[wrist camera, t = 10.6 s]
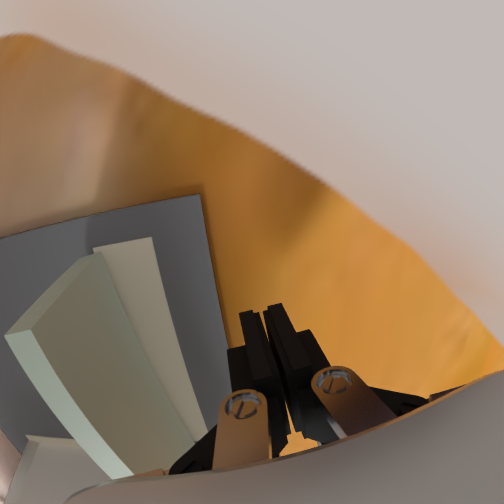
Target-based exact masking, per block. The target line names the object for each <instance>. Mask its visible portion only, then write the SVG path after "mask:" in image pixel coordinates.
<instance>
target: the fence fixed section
mask: <svg viewBox="0 0 504 504" xmlns="http://www.w3.org/2000/svg"><path fill="white" fill-rule="evenodd" d="M110 480H112V479H111V478H110V477H109V476H108V475H107V474H106V473H105V472H104V471H103V470H102V469H101V468H100V467H99V466H98V465H97V464H96V462H95V461H94V460H93V459H92V458H91V457H90V456H89V455H88V454H87V453H86V452H85V451H84V449H83V448H82V447H69V446H58V445H48V444H39V443H38V442H35V441H32V440H28V442H27V445H26V447H25V449H24V452H23V454H22V457H21V459H20V461H19V464H18V466H17V469H16V472H15V474H14V477H13V479H12V482H11V485H10V487H9V490H8V493H7V496H6V499H5V502H4V504H63V503H64V502H65V500H66V499H67V498H68V497H70V496H71V495H72V494H74V493H76V492H78V491H80V490H82V489H84V488H87V487H90V486H93V485H96V484H100V483H105V482H107V481H110Z"/></svg>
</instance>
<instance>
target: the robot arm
mask: <svg viewBox="0 0 504 504" xmlns="http://www.w3.org/2000/svg"><path fill="white" fill-rule="evenodd" d="M267 307H268V310H265V311H263V314H264V319H265V324H266V329H267V334H268V338H267V335H266V332H265V329H264V326H263V323H262V320H261V317H260V314H259V312H257V313H253V310H249V311H245V312H241V313H239V317H240V321H241V326H242V331H243V335H244V340H245V344H246V345H244V346H240V347H235V348H231V349H227V358H228V366H229V374H230V381H231V389H232V393H231V394H229V395H228V396H227V397H225V398H224V400H223V401H222V402H221V405H220V408H219V416H218V423H217V424H216V425H215V426H214V427H213V428H212V429H211V430H210V431H209V432H208V433H207V434H206V435H204V436H203V437H202V438H201V439H200V440H199V441H198V442H197V443H196V444H195V445H194V446H193V447H191V448H190V449H189V450H188V451H187V452H186V453H185V454H184V455H183V456H181V457H180V458H179V459H178V460H177V461H176V462H175V463H174V464H173V465H172V466H171V468H170V469H169V470H165V471H163V469H162V468H160V469H157V470H153V471H149V472H145V473H141V474H136V475H132V476H127V477H123V478H118V479H113V480H110V481H107V482H105V483H100V484H96V485H93V486H90V487H87V488H84V489H82V490H80V491H78V492H76V493H74V494H72V495H71V496H70V497H68V498H67V499H66V500H65V502H64V503H63V504H504V370H501V371H497V372H494V373H491V374H488V375H485V376H483V377H481V378H479V379H476V380H474V381H472V382H470V383H468V384H465V385H462V386H459V387H456V388H452V389H449V390H446V391H442V392H439V393H435V394H431V395H430V396H429V398H428V399H425V398H423V397H420V396H416V395H410V394H404V393H399V392H394V391H389V390H383V389H379V388H374V387H369V386H367V385H366V384H365V383H364V381H363V380H362V379H361V378H360V377H359V376H358V375H357V374H356V373H355V372H354V371H352V370H351V369H349V368H346V367H343V366H331V365H330V364H329V362H328V360H327V358H326V357H325V355H324V353H323V351H322V350H321V348H320V346H319V344H318V342H317V341H316V339H315V337H314V336H313V334H312V332H311V331H310V330H309V329H308V330H304V331H300V332H297V333H296V331H295V329H294V327H293V325H292V323H291V321H290V319H289V317H288V315H287V313H286V311H285V309H284V307H283V305H282V303H278V304H274V305H270V306H267ZM268 339H269V341H268ZM285 402H286V404H285ZM286 405H287V408H288V411H289V414H290V417H291V420H292V423H293V426H294V429H295V431H296V432H300V431H302V434H303V437H304V439H306V438H309V439H312V440H315V441H317V444H318V447H314V448H311V449H307V450H304V451H300V452H297V453H293V454H289V455H285V456H281V455H280V452H281V451H282V450H283V448H284V447H285V446H286V445H287V443H288V440H287V435H289V434H291V430H290V424H289V419H288V414H287V409H286Z"/></svg>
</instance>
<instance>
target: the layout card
mask: <svg viewBox="0 0 504 504" xmlns="http://www.w3.org/2000/svg"><path fill="white" fill-rule="evenodd" d="M97 252H101V254H102V256H103V259H104V262H105V264H106V267H107V270H108V272H109V275H110V277H111V280H112V282H113V285H114V287H115V290H116V292H117V295H118V297H119V299H120V302H121V304H122V306H123V309H124V311H125V313H126V315H127V318H128V320H129V322H130V324H131V327H132V329H133V331H134V333H135V335H136V337H137V339H138V342H139V344H140V346H141V348H142V350H143V352H144V354H145V356H146V358H147V360H148V362H149V364H150V366H151V368H152V370H153V372H154V373H155V375H156V377H157V379H158V381H159V383H160V385H161V387H162V388H163V390H164V392H165V394H166V396H167V397H168V399H169V401H170V403H171V405H172V406H173V408H174V410H175V411H176V413H177V415H178V417H179V418H180V420H181V422H182V423H183V425H184V427H185V428H186V430H187V432H188V433H189V435H190V436H191V438H192V440H193V441H194V443H195V444H196V443H197V442H198V441H199V440H200V439H201V438H202V437H203V436H204V435H206V434H207V433H208V432H209V431H210V430H211V429H212V428H213V427H214V426H215V425H216V424H217V423H218V416H219V408H220V405H221V402H222V401H223V400H224V398H225V397H227V396H228V395H229V394H231V393H232V389H231V381H230V374H229V366H228V358H227V349H229V348H228V343H227V339H226V334H225V329H224V324H223V319H222V314H221V309H220V304H219V299H218V294H217V288H216V283H215V278H214V272H213V267H212V261H211V256H210V250H209V245H208V239H207V233H206V227H205V222H204V216H203V210H202V204H201V197H200V193H199V194H193V195H188V196H182V197H177V198H171V199H166V200H160V201H155V202H150V203H145V204H140V205H135V206H130V207H125V208H121V209H116V210H111V211H107V212H102V213H98V214H93V215H89V216H84V217H80V218H76V219H72V220H68V221H64V222H59V223H55V224H51V225H48V226H44V227H40V228H36V229H32V230H29V231H25V232H21V233H18V234H14V235H10V236H7V237H3V238H0V428H1V430H2V431H3V432H4V434H5V435H6V436H7V438H8V439H9V440H10V441H11V443H12V444H13V445H14V446H15V447H16V449H17V450H18V451H19V452H20V453H21V455H22V454H23V452H24V449H25V447H26V445H27V442H28V440H32V441H35V442H38V443H39V444H48V445H58V446H69V447H81V446H80V445H79V444H78V443H77V441H76V440H75V439H74V438H73V437H72V435H71V434H70V433H69V432H68V431H67V429H66V428H65V427H64V426H63V424H62V423H61V422H60V421H59V419H58V418H57V417H56V416H55V414H54V413H53V412H52V410H51V409H50V408H49V406H48V405H47V403H46V402H45V401H44V399H43V398H42V396H41V395H40V394H39V392H38V391H37V389H36V388H35V386H34V385H33V383H32V382H31V380H30V379H29V377H28V376H27V374H26V373H25V371H24V369H23V368H22V366H21V365H20V363H19V361H18V360H17V358H16V356H15V355H14V353H13V351H12V349H11V348H10V346H9V344H8V342H7V340H6V339H5V337H4V335H5V334H6V333H7V332H8V331H9V329H10V328H11V327H12V326H13V325H14V324H15V323H16V322H17V321H18V319H19V318H20V317H21V316H22V315H23V314H24V313H25V312H26V311H27V310H28V309H29V308H30V307H31V306H32V305H33V304H34V302H35V301H36V300H37V299H38V298H39V297H40V296H41V295H42V294H43V293H44V292H45V291H46V290H47V289H48V288H49V287H50V286H51V285H52V284H53V283H54V282H55V281H56V280H57V279H58V278H59V277H60V276H61V275H62V274H63V273H64V272H66V271H67V270H68V269H69V268H70V267H71V266H72V265H73V264H74V263H75V262H76V261H77V260H78V259H79V258H82V257H85V256H88V255H91V254H94V253H97Z"/></svg>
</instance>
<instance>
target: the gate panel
mask: <svg viewBox="0 0 504 504" xmlns="http://www.w3.org/2000/svg"><path fill="white" fill-rule="evenodd" d="M4 337H5V339H6V340H7V342H8V344H9V346H10V348H11V349H12V351H13V353H14V355H15V356H16V358H17V360H18V361H19V363H20V365H21V366H22V368H23V369H24V371H25V373H26V374H27V376H28V377H29V379H30V380H31V382H32V383H33V385H34V386H35V388H36V389H37V391H38V392H39V394H40V395H41V396H42V398H43V399H44V401H45V402H46V403H47V405H48V406H49V408H50V409H51V410H52V412H53V413H54V414H55V416H56V417H57V418H58V419H59V421H60V422H61V423H62V424H63V426H64V427H65V428H66V429H67V431H68V432H69V433H70V434H71V435H72V437H73V438H74V439H75V440H76V441H77V443H78V444H79V445H80V446H81V447H82V448H83V449H84V451H85V452H86V453H87V454H88V455H89V456H90V457H91V458H92V459H93V460H94V461H95V462H96V464H97V465H98V466H99V467H100V468H101V469H102V470H103V471H104V472H105V473H106V474H107V475H108V476H109V477H110V478H111V479H112V480H113V479H118V478H123V477H127V476H132V475H136V474H141V473H145V472H149V471H153V470H157V469H160V468H162V469H163V471H165V470H169V469H170V468H171V466H172V465H173V464H174V463H175V462H176V461H177V460H178V459H179V458H180V457H181V456H183V455H184V454H185V453H186V452H187V451H188V450H189V449H190V448H191V447H193V446H194V445H195V443H194V441H193V440H192V438H191V436H190V435H189V433H188V432H187V430H186V428H185V427H184V425H183V423H182V422H181V420H180V418H179V417H178V415H177V413H176V411H175V410H174V408H173V406H172V405H171V403H170V401H169V399H168V397H167V396H166V394H165V392H164V390H163V388H162V387H161V385H160V383H159V381H158V379H157V377H156V375H155V373H154V372H153V370H152V368H151V366H150V364H149V362H148V360H147V358H146V356H145V354H144V352H143V350H142V348H141V346H140V344H139V342H138V339H137V337H136V335H135V333H134V331H133V329H132V327H131V324H130V322H129V320H128V318H127V315H126V313H125V311H124V309H123V306H122V304H121V302H120V299H119V297H118V295H117V292H116V290H115V287H114V285H113V282H112V280H111V277H110V275H109V272H108V270H107V267H106V264H105V262H104V259H103V256H102V254H101V252H97V253H94V254H91V255H88V256H85V257H82V258H79V259H78V260H77V261H76V262H75V263H74V264H73V265H72V266H71V267H70V268H69V269H68V270H67V271H66V272H64V273H63V274H62V275H61V276H60V277H59V278H58V279H57V280H56V281H55V282H54V283H53V284H52V285H51V286H50V287H49V288H48V289H47V290H46V291H45V292H44V293H43V294H42V295H41V296H40V297H39V298H38V299H37V300H36V301H35V302H34V304H33V305H32V306H31V307H30V308H29V309H28V310H27V311H26V312H25V313H24V314H23V315H22V316H21V317H20V318H19V319H18V321H17V322H16V323H15V324H14V325H13V326H12V327H11V328H10V329H9V331H8V332H7V333H6V334H5V335H4Z"/></svg>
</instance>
